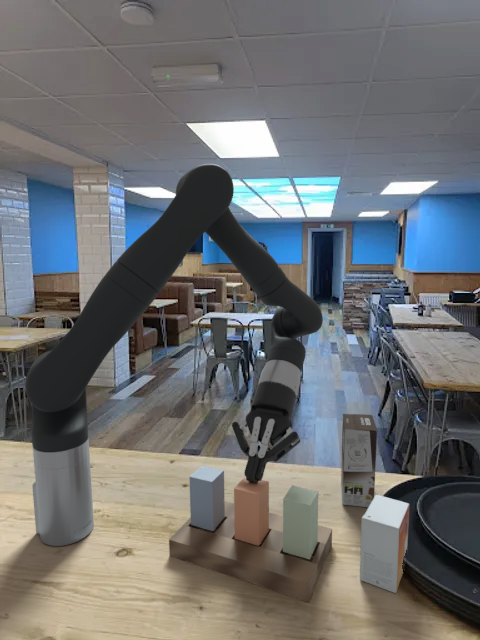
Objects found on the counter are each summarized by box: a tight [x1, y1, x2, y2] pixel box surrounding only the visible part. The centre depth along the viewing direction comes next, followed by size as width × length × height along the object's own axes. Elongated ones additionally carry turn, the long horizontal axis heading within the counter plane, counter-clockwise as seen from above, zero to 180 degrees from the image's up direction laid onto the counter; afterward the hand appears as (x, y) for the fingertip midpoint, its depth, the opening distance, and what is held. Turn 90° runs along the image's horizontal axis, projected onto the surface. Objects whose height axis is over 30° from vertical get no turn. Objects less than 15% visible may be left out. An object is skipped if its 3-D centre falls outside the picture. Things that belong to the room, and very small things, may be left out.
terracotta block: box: [233, 475, 270, 547], centre depth 73 cm, size 4×4×9 cm
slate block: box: [189, 465, 225, 532], centre depth 77 cm, size 4×4×9 cm
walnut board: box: [168, 500, 333, 603], centre depth 74 cm, size 24×14×3 cm, turn 65°
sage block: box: [282, 485, 319, 560], centre depth 70 cm, size 4×4×9 cm
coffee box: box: [340, 413, 378, 508], centre depth 90 cm, size 9×6×16 cm
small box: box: [359, 494, 411, 594], centre depth 68 cm, size 8×6×10 cm
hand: (251, 481), depth 73 cm, fingers closed
